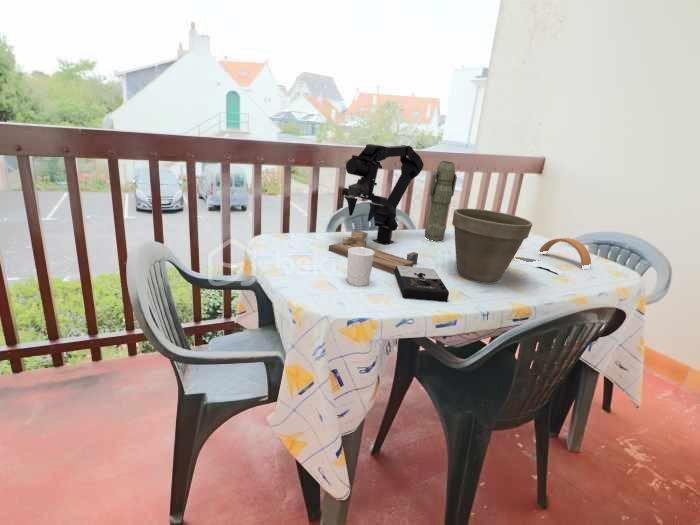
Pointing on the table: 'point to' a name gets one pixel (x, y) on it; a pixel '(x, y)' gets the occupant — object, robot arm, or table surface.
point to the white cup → (359, 265)
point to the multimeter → (420, 284)
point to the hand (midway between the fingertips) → (359, 218)
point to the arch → (576, 244)
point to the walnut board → (378, 257)
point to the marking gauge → (357, 238)
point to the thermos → (440, 200)
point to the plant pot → (487, 242)
